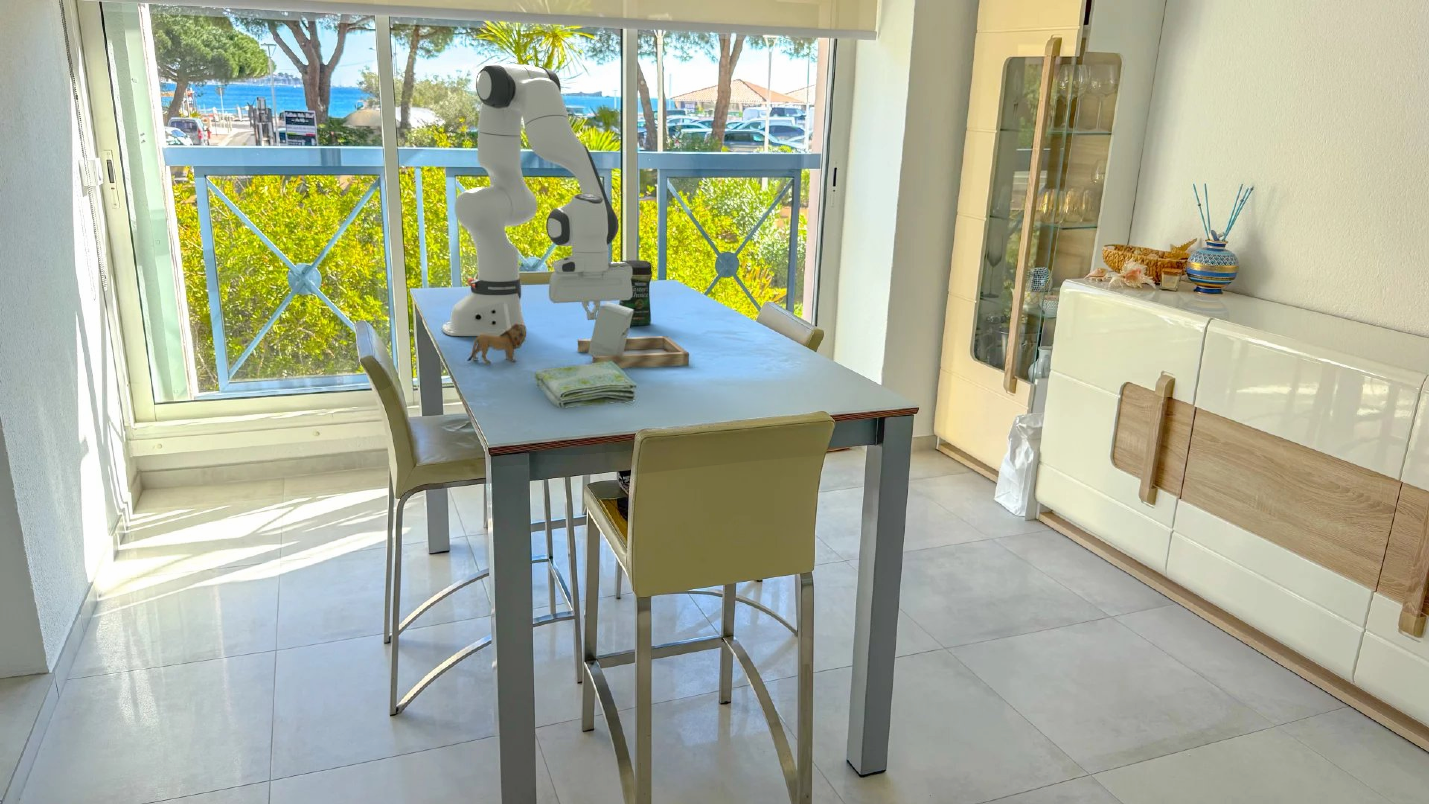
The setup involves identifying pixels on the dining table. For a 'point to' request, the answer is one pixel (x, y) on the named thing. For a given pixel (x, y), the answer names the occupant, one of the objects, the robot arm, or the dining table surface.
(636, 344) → the corral
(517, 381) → the dining table surface
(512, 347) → the lion figurine
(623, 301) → the coffee jar
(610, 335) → the supplement box
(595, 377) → the towel
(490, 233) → the robot arm
